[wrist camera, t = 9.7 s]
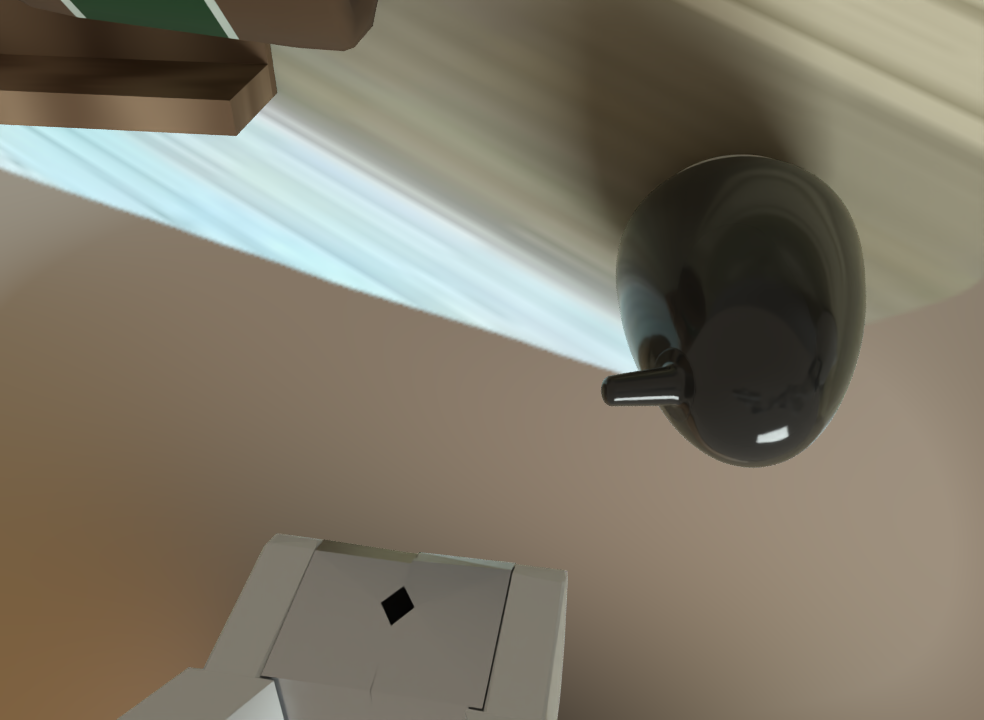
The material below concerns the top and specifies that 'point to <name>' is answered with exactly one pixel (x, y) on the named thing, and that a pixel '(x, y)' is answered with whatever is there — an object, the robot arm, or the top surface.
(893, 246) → the top surface
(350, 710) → the robot arm
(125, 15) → the beer bottle
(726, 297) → the dark grey oval piece
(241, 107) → the u rest
